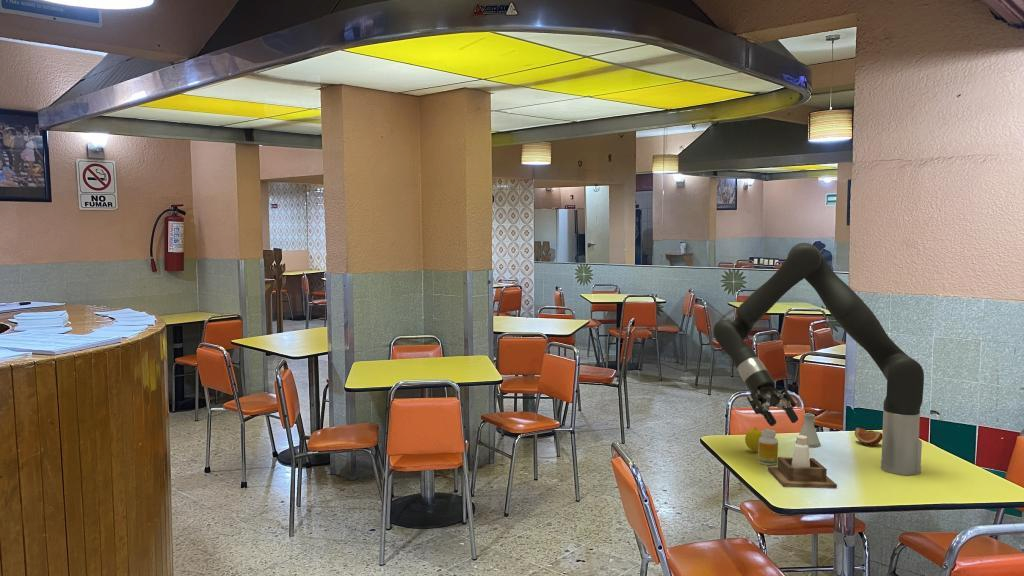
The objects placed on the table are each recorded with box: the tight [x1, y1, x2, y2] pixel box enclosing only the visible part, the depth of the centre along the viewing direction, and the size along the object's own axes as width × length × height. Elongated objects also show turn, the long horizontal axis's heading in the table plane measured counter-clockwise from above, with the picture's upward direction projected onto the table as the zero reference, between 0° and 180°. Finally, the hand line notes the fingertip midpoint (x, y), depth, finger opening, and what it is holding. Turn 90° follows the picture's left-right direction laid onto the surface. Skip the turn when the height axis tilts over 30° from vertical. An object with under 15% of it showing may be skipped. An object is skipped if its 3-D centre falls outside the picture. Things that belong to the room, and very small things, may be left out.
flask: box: [795, 412, 821, 448], centre depth 230 cm, size 7×7×10 cm
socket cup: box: [767, 456, 838, 489], centre depth 196 cm, size 14×14×4 cm
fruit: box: [744, 426, 762, 453], centre depth 221 cm, size 6×6×8 cm
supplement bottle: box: [757, 428, 779, 466], centre depth 210 cm, size 5×5×10 cm
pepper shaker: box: [791, 434, 811, 467], centre depth 196 cm, size 5×5×11 cm
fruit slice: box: [854, 427, 882, 446], centre depth 231 cm, size 8×7×5 cm
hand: (784, 423), depth 201 cm, fingers open, 8 cm apart
